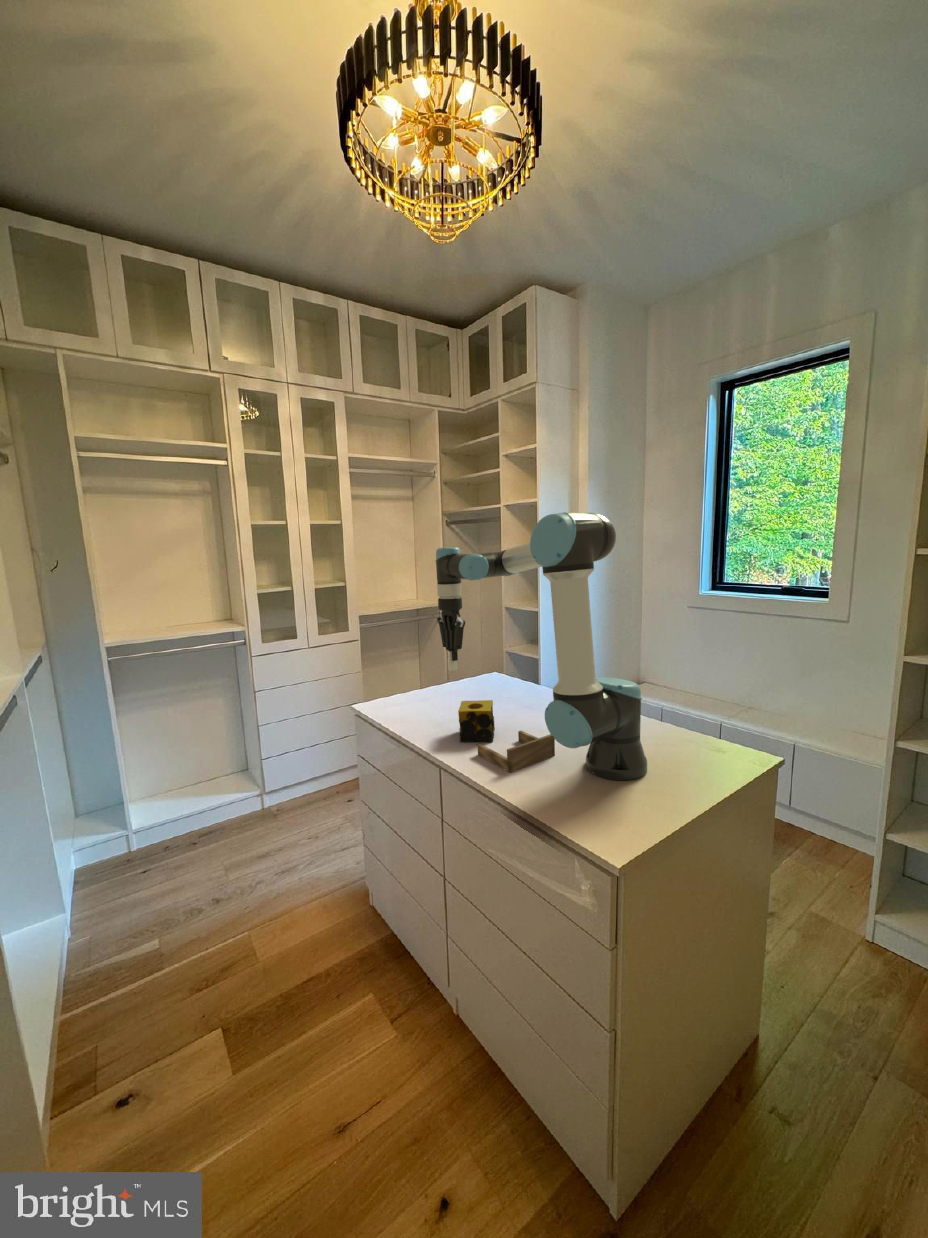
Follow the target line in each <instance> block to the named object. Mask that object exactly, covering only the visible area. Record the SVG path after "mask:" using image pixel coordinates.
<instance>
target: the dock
mask: <svg viewBox="0 0 928 1238" xmlns="http://www.w3.org/2000/svg"><path fill="white" fill-rule="evenodd" d="M517 733H518V735H517V736H518V742H520V743H521V744H518V745H516V746H513V747H509V748H507V749H506V756H504V755H503V754H501V753H499V752H497V751H495V750H493V749H491V748H489V747H487V746H486V745H484V744H482V743H479V744H477V755H478V757H481V758H483V759H484V760H486V761H489V762H490V763H492V764H494V765H496V766H497V765H498V766H497V767H499V768H501V769H503V770H504V769H505V770H504V771H506V772H507V773H508V772H509V773H512V772H515V771H518V770H520V769H523V768H526V767H528V766H532V765H535V764H537V763H538V762H539V763H540V762H541V761H544V760H546V759H549V758H552V757H555V755H556V750H555V749H556V748H555V746H556V745H555V744H556V743H555V742H556V740H555V738H554V737H553V736H552V735H551V734H550V733H549V734H546V735H545V736H541V737H537V736H534V735H533V734H529V733H528V732H525V731H523V730H518V731H517Z"/></svg>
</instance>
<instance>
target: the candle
mask: <svg viewBox="0 0 928 1238" xmlns="http://www.w3.org/2000/svg"><path fill="white" fill-rule="evenodd" d="M460 702H461V703H460V705H459V707H458V712H457V715H458V723H459V742H460V743H492V742H494V738H495V729H496V728H495V716H494V710H493V709H494V708H493V705H494V701H493V699H489V700H487V699H485V700H482V699H481V700H461V701H460Z"/></svg>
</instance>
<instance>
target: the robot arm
mask: <svg viewBox="0 0 928 1238" xmlns="http://www.w3.org/2000/svg"><path fill="white" fill-rule="evenodd" d="M616 533H617V532H616V529H615V527H614V524H613V523H612V522H611V520H610V519H609V518H607V517H606V516H604V515H602V514H599V513H595V512H559V513H551V514H547V515H544V516H543V517H542V518H541V519H540V520H538V522H537V523H536V525H535V526H534V528H533V530H532V532H531V535H530V540H529V542H528V543H524V544H520V545H517V546H514V547H510V548H508V549H504V550H501V551H494V552H493V551H492V552H481V553H480V552H478V553H477V552H476V553H461V550H460V548H459V547H457V546H456V547H455V546H453V547H439V548H437V549H436V551H435V566H436V567H435V568H436V569H435V570H436V583H437V584H436V588H437V597H438V598H437V606H438V608H437V609H438V610H439V611H441V614H440V616H439V617H437V618H436V621H437V623H438V627H439V632H440V637H441V642H442V647H443V648H445V650H446V652H447V653H446V654H447V670H448V671H449V672H453V671H458V670H459V663H458V659H459V657H458V656H459V655H458V651H459V650H462V648H463V647H462V646H463V639H464V631H465V630H464V629H465V628H464V627H465V625H466V620H465V619H464V620H462V618H461V613H460V610H462V609H463V598H462V597H461V596H462V580H469V581H477V580H478V581H479V580H480V581H481V580H482V579H487V578H495V577H509V576H513V575H516V574H517V573H521V572H525V571H529V570H533V569H539V568H542V576H544V577H545V578H546V579H548V581H549V582H550V597H551V607H552V608H551V609H552V617H553V619H552V620H553V621H552V622H553V630H554V642H555V655H556V657H555V658H556V666H557V667H556V668H557V678H558V681H557V683H556V684H555V685H554V686H553V688H552V699H553V701H550V702H549V703H548V705H547V707H545V710H544V720H545V724H546V725H545V726H546V727H547V730H548V732H549V735H550V734H551V735H552V736H553V737H554V738H555V742H558V743H559V744H560V745H561V746H563V747H566V748H569V749H577V748H581V747H586V746H588V745H589V747H588V748H587V753H586V755H585V767H586V768H587V771H589V772H591V773H592V774H594V775H596V776H597V777H600V778H604V779H607V780H613V781H631V780H637V779H640V778H642V777H644V776H645V775H646V774H647V773H648V760H647V758H646V754H645V751H644V747H643V745H642V740H641V720H642V718H641V715H642V712H641V710H642V709H641V708H642V695H641V694H642V693H641V691H642V690H641V687H640V686H639V684H638V683H636V682H634V681H632V680H627V679H624V678H623V679H622V678H616V677H596V667H595V654H594V652H595V651H594V642H593V641H594V640H593V627H592V614H591V602H590V589H589V587H590V586H589V576H590V575H591V574H592V573H593V572H594V570H595V564H594V562H598V561H601V560H603V559H605V558H606V557H607V556H608V555H610V554H611V553H612V551H613V549H614V548H615V544H616V542H617V541H616V540H617V534H616Z"/></svg>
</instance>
